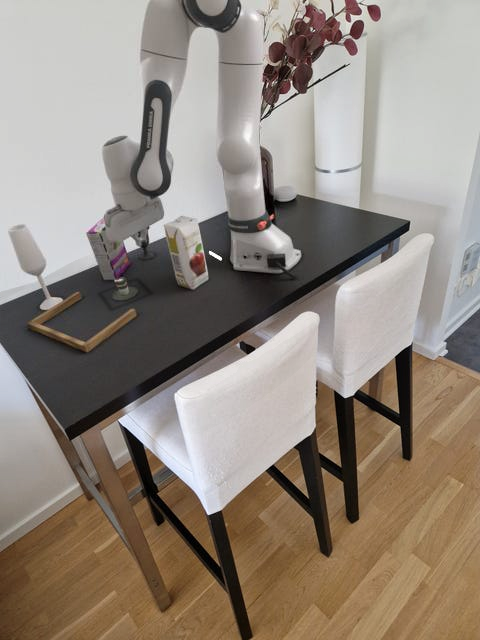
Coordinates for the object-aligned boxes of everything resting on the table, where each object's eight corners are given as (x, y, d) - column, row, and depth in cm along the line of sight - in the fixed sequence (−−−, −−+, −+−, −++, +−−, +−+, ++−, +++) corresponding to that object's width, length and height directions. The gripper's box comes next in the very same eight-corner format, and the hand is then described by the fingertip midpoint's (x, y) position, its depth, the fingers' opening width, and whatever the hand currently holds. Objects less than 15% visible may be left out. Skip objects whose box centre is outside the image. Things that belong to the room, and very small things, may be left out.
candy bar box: (117, 263, 143) (102, 217, 134) (131, 263, 142) (116, 216, 133) (102, 280, 135) (85, 232, 125) (116, 280, 133) (100, 231, 124)
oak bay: (137, 315, 115) (135, 309, 114) (87, 352, 104) (84, 346, 103) (79, 297, 128) (77, 291, 127) (29, 328, 117) (26, 323, 116)
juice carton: (174, 286, 126) (159, 225, 115) (194, 273, 131) (182, 213, 120) (192, 292, 121) (178, 229, 111) (212, 278, 126) (201, 217, 116)
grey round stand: (151, 293, 124) (146, 279, 121) (111, 309, 119) (106, 294, 116) (136, 279, 133) (132, 264, 130) (99, 293, 128) (93, 279, 125)
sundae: (147, 250, 149) (135, 209, 140) (160, 254, 145) (149, 211, 137) (133, 259, 145) (120, 217, 136) (147, 262, 141) (134, 219, 133)
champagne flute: (62, 295, 130) (30, 220, 117) (63, 305, 125) (29, 228, 111) (39, 301, 129) (4, 226, 115) (39, 312, 123) (2, 235, 110)
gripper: (110, 213, 111) (124, 261, 119) (162, 188, 125) (171, 232, 133) (94, 211, 115) (108, 257, 123) (146, 186, 128) (157, 229, 136)
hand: (142, 244), depth 128 cm, fingers closed
